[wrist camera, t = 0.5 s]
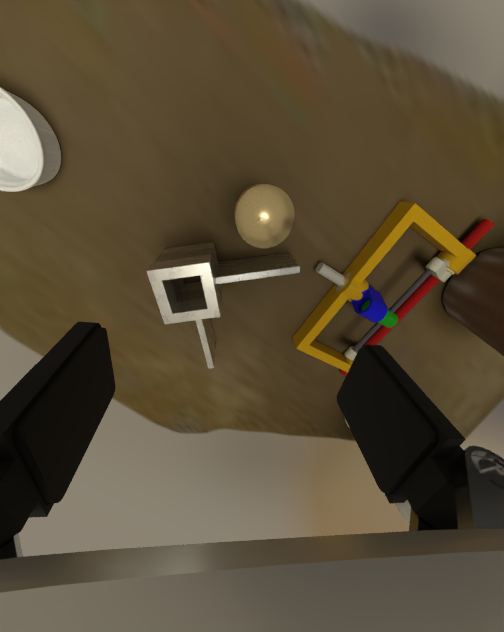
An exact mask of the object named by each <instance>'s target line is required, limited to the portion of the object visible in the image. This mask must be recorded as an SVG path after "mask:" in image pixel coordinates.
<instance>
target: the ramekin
mask: <svg viewBox="0 0 504 632" xmlns="http://www.w3.org/2000/svg"><path fill="white" fill-rule="evenodd" d="M60 165H61V151H60V146H59V143H58V140H57V137H56V135H55V133H54V131H53V130H52V128H51V126H50V125H49V123H48V122H47V121H46V120H45V118H44V117H43V116H42V115H41V114H40V113H39V112H38V111H37V110H36V109H35V108H34V107H32V106H31V105H30V104H28V103H27V102H25V101H24V100H23V99H21V98H19V97H17V96H15V95H14V94H12V93H10V92H7V91H5V90H4V89H2V88H1V87H0V190H1V191H8V192H17V191H23V190H26V189H29V188H31V187H33V186H37V185H41V184H44V183H47V182H48V181H50V180H52V179H53V178H54V177H55V176H56V174H57V173H58V171H59V169H60Z"/></svg>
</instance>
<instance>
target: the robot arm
mask: <svg viewBox="0 0 504 632" xmlns="http://www.w3.org/2000/svg"><path fill="white" fill-rule="evenodd" d="M114 392H115V380H114V374H113V368H112V362H111V355H110V349H109V343H108V336H107V331H106V329H105V328H101V325H100V324H99V323H91V322H78V323H76V324H75V325H74V326H73V327H72V328H71V329H70V330H69V331H68V332H67V333H66V335H65V336H64V337H63V338H62V339H61V340H60V341H59V342H58V343H57V344H56V345H55V346H54V347H53V348H52V349H51V350H50V351H49V352H48V353H47V354H46V355H45V356H44V357H43V358H42V359H41V360H40V361H39V362H38V363H37V364H36V365H35V366H34V367H33V368H32V369H31V370H30V371H29V372H28V373H27V374H26V375H25V376H24V377H23V378H22V379H21V380H20V381H19V382H18V383H17V385H15V386H14V387H13V388H12V390H11V391H10V392H9V393H8V394H7V395H6V396H5V397H4V398H3V399H2V400H1V401H0V632H504V459H503V458H502V457H500V456H498V455H497V454H495V453H493V452H492V451H490V450H487V449H485V448H482V447H478V446H469V447H468V448H466V449H465V450H463V449H462V448H461V447H460V445H461V444H462V443H463V442H464V440H465V438H464V437H463V436H462V435H461V434H460V433H459V431H458V430H457V429H456V428H455V427H454V426H453V425H452V424H451V422H450V421H449V420H448V419H447V418H446V417H445V416H444V415H443V414H442V412H441V411H440V410H439V409H438V408H437V407H436V406H435V405H434V403H433V402H432V401H431V400H430V399H429V398H428V397H427V396H426V395H425V393H424V392H423V391H422V390H421V389H420V388H419V387H418V386H417V384H416V383H415V382H414V381H413V380H412V379H411V378H410V377H409V375H408V374H407V373H406V372H405V371H404V370H403V369H402V368H401V367H400V365H399V364H398V363H397V362H396V361H395V360H394V359H393V358H392V356H391V355H390V354H389V353H388V352H387V351H386V350H385V349H384V348H383V347H382V346H380V345H370V344H366V345H364V346H363V347H362V348H360V349H359V350H358V352H357V354H356V357H355V359H354V361H353V363H352V365H351V367H350V369H349V371H348V373H347V376H346V378H345V380H344V382H343V384H342V386H341V388H340V390H339V392H338V395H337V402H338V405H339V407H340V409H341V411H342V413H343V415H344V419H345V422H346V424H347V426H348V427H349V428H350V429H351V431H352V433H353V436H354V438H355V440H356V442H357V444H358V446H359V448H360V450H361V452H362V454H363V456H364V458H365V460H366V462H367V464H368V466H369V468H370V471H371V472H372V474H373V477H374V479H375V481H376V483H377V485H378V487H379V488H380V490H381V491H382V492H384V493H385V495H386V497H387V499H388V501H389V503H395V505H396V507H397V508H398V510H399V512H400V513H401V515H402V516H403V517H404V518H405V519H406V520H407V521H408V522H409V523H410V526H409V531H408V532H388V533H370V534H354V535H353V534H351V535H334V536H318V537H300V538H284V539H267V540H251V541H234V542H218V543H203V544H188V545H172V546H159V547H143V548H126V549H112V550H98V551H87V552H75V553H63V554H51V555H39V556H27V557H23V554H22V549H21V543H20V538H19V532H20V531H21V530H22V528H23V526H24V525H25V523H26V521H27V519H28V518H29V517H47V515H48V514H49V512H50V510H51V508H52V506H53V504H54V503H58V502H60V501H61V499H62V498H63V496H64V494H65V493H66V491H67V489H68V487H69V484H70V483H71V481H72V478H73V476H74V474H75V472H76V470H77V468H78V466H79V464H80V462H81V460H82V458H83V456H84V454H85V452H86V450H87V448H88V446H89V444H90V442H91V440H92V438H93V436H94V434H95V432H96V430H97V428H98V426H99V424H100V422H101V419H102V418H103V415H104V413H105V411H106V409H107V407H108V405H109V403H110V401H111V399H112V397H113V395H114Z"/></svg>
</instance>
